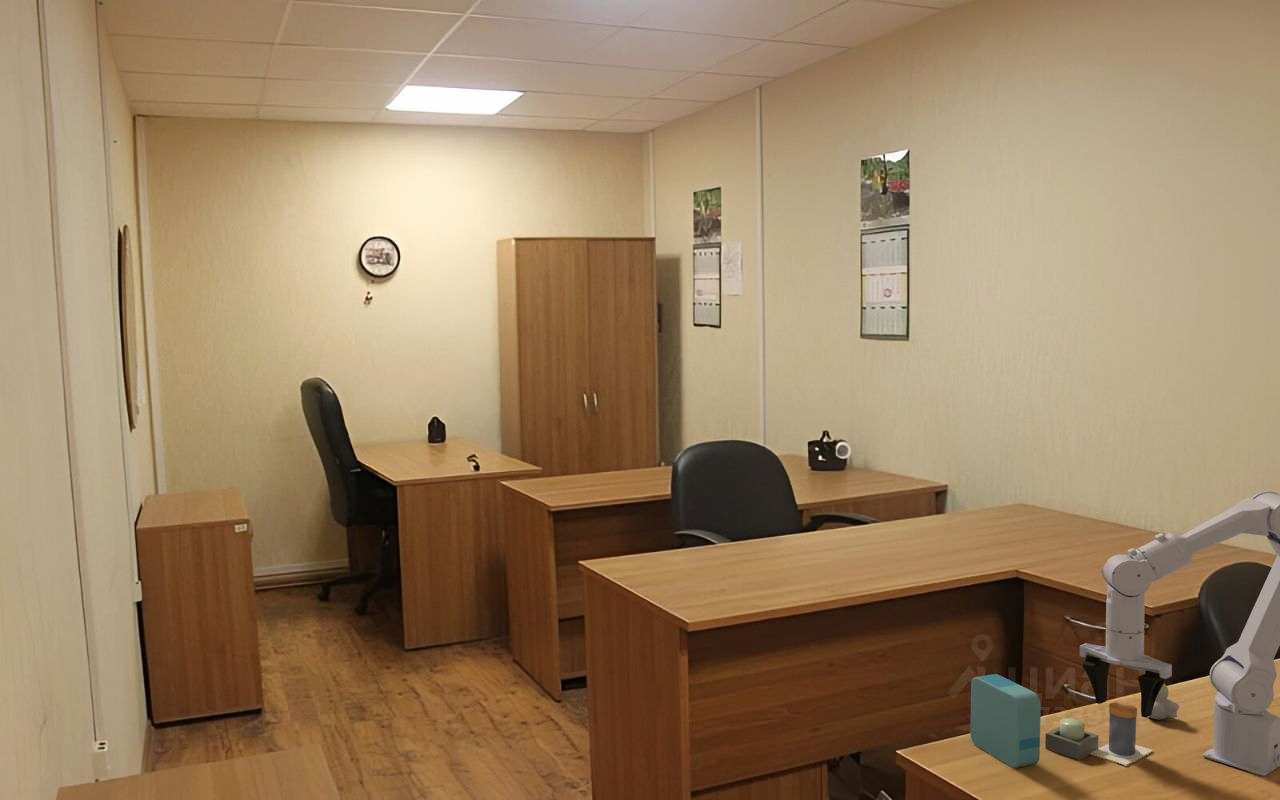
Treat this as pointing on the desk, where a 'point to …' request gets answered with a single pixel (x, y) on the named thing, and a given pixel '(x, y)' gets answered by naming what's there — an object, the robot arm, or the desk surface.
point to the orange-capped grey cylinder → (1122, 728)
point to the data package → (1005, 720)
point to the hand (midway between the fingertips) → (1123, 708)
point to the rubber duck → (1164, 706)
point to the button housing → (1071, 744)
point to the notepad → (1120, 759)
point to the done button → (1072, 729)
